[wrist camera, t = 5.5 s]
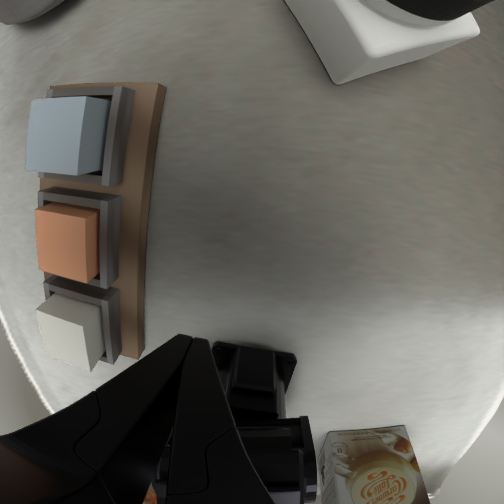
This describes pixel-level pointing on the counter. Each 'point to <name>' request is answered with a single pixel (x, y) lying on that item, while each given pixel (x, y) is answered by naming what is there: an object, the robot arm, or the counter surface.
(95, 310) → the white button
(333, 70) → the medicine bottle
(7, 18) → the coffee pot
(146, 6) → the counter surface
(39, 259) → the terracotta button
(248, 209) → the counter surface
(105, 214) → the button panel
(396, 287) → the counter surface
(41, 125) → the slate button
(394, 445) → the coffee box
